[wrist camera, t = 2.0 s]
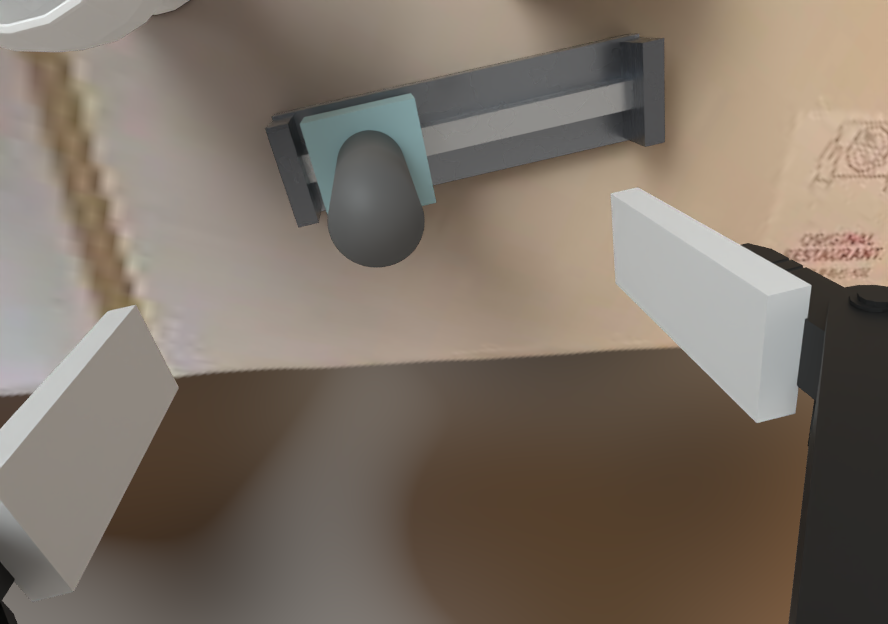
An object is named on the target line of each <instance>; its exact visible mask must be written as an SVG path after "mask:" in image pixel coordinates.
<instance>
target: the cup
mask: <svg viewBox="0 0 888 624" xmlns="http://www.w3.org/2000/svg"><path fill="white" fill-rule="evenodd" d="M188 1H189V0H0V47H2V48H6V49H9V50H13V51H32V52H66V51H78V50H85V49H88V48H92V47H96V46H100V45H104V44H108V43H111V42H115V41H118V40H120V39H121V38H123V37H124V36H126V35H127V34H129V33H130V32H132V31H133V30H135V29H136V28H138V27H140V26H141V25H143V24H144V23H146V22H147V21H148V19H149V18H150V17H151V16H152V15H158V14H162V13H165V12H169V11H173V10H176V9H177V8H179V7H180V6H182V5H183V4H185V3H186V2H188Z"/></svg>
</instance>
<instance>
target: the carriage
mask: <svg viewBox="0 0 888 624" xmlns="http://www.w3.org/2000/svg"><path fill="white" fill-rule="evenodd" d="M300 127H301V130H302V133H303V137H304V140H305V143H306V147H307V150H308V153H309V156H310V160H311V163H312V166H313V169H314V173H315V176H316V179H317V182H318V186H319V189H320V192H321V195H322V199H323V202H324V205H325V208H326V212H327V215H328V229H329V233H330V236H331V239H332V241H333V243H334V244H335V246H336V247H337V249H338V250H339V251H340V252H341V253H342V254H343V255H344V256H345V257H347V258H348V259H350V260H351V261H353V262H355V263H357V264H360V265H363V266H367V267H386V266H390V265H393V264H396V263H398V262H400V261H402V260H403V259H405V258H406V257H408V256H409V255H410V254H411V253H412V252H413V251H414V250H415V248H416V247H417V245H418V244H419V242H420V240H421V237H422V234H423V231H424V212H423V209H422V206H424V205H428V204H433V203H436V199H435V194H434V189H433V184H432V179H431V174H430V170H429V165H428V160H427V155H426V150H425V146H424V141H423V136H422V131H421V126H420V121H419V117H418V112H417V107H416V102H415V98H414V97H413V95H412V94H411V93H409V94H404V95H400V96H396V97H391V98H387V99H382V100H378V101H374V102H369V103H365V104H360V105H356V106H351V107H347V108H343V109H338V110H334V111H329V112H325V113H321V114H316V115H312V116H307V117H304V118H303V120H302V121H301V123H300Z"/></svg>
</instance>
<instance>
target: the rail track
mask: <svg viewBox="0 0 888 624" xmlns="http://www.w3.org/2000/svg"><path fill="white" fill-rule="evenodd" d="M409 93H411V94H412V95H413V97H414V98H415V102H416V107H417V112H418V117H419V121H420V126H421V131H422V136H423V141H424V146H425V150H426V155H427V160H428V165H429V170H430V174H431V179H432V184H433V185H437V184H441V183H445V182H450V181H454V180H458V179H463V178H467V177H471V176H476V175H480V174H484V173H489V172H493V171H497V170H501V169H506V168H510V167H514V166H519V165H523V164H527V163H532V162H536V161H540V160H545V159H549V158H553V157H558V156H562V155H566V154H570V153H575V152H579V151H583V150H588V149H592V148H596V147H601V146H605V145H609V144H614V143H618V142H622V141H627V140H630V141H632V142H635V143H637V144H640V145H642V146H645V147H646V146H651V145H655V144H659V143H663V142H665V104H664V38H640V37H639V34H627V35H622V36H618V37H613V38H609V39H604V40H600V41H596V42H591V43H587V44H582V45H578V46H573V47H569V48H565V49H560V50H556V51H551V52H547V53H542V54H538V55H534V56H529V57H525V58H520V59H516V60H511V61H507V62H503V63H498V64H494V65H489V66H485V67H480V68H476V69H472V70H467V71H463V72H458V73H454V74H449V75H445V76H441V77H436V78H432V79H427V80H423V81H418V82H414V83H410V84H405V85H401V86H396V87H392V88H387V89H383V90H379V91H374V92H370V93H365V94H361V95H356V96H352V97H348V98H343V99H339V100H334V101H330V102H325V103H321V104H317V105H312V106H308V107H303V108H299V109H294V110H290V111H286V112H281V113H277V114H274V115H273V116H272V120H273V121H272V122H271V123H270V124H269V125H268V126H267V127H266V128H265V130H266V133H267V136H268V139H269V142H270V145H271V148H272V151H273V154H274V157H275V160H276V163H277V166H278V169H279V171H280V174H281V177H282V180H283V183H284V186H285V189H286V192H287V195H288V198H289V201H290V204H291V207H292V210H293V213H294V216H295V219H296V222H297V225H298V227H302V226H307V225H311V224H315V223H319V219H320V214H321V211H325V210H326V208H325V205H324V202H323V199H322V195H321V192H320V189H319V186H318V182H317V179H316V176H315V173H314V169H313V166H312V163H311V160H310V156H309V153H308V150H307V147H306V143H305V140H304V137H303V133H302V130H301V127H300V123H301V121H302V120H303V118H304V117H307V116H312V115H316V114H321V113H325V112H329V111H334V110H338V109H343V108H347V107H351V106H356V105H360V104H365V103H369V102H374V101H378V100H382V99H387V98H391V97H396V96H400V95H404V94H409Z"/></svg>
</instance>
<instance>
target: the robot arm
mask: <svg viewBox="0 0 888 624" xmlns="http://www.w3.org/2000/svg"><path fill="white" fill-rule="evenodd" d="M611 208H612V226H613V244H614V262H615V280H616V284H617V285H618V286H619V287H620V288H621V289H622V290H623V291H624V292H625V293H626V294H627V295H628V296H629V297H630V298H631V299H632V300H633V301H634V302H635V303H636V304H637V305H638V306H639V307H640V308H641V309H642V310H643V311H644V312H645V313H646V314H647V315H648V316H649V317H650V318H651V319H652V320H653V321H654V322H655V323H656V324H657V325H658V326H659V327H660V328H661V329H662V330H663V331H664V332H665V333H666V334H667V335H668V336H669V337H670V338H671V339H672V340H673V341H674V342H675V343H676V344H677V345H678V346H679V347H681V348H682V349H683V350H684V351H685V352H686V353H687V354H688V355H689V356H690V357H691V358H692V359H693V360H694V361H695V362H696V363H697V364H698V365H699V366H700V367H701V368H702V369H703V370H704V371H705V372H706V373H707V374H708V375H709V376H710V377H711V378H712V379H713V380H714V381H715V382H716V383H717V384H718V385H719V386H720V387H721V388H722V389H723V390H724V391H725V392H726V393H727V394H728V395H729V396H730V397H731V398H732V399H733V400H734V401H735V402H736V403H737V404H738V405H739V406H740V407H741V408H742V409H743V410H744V411H745V412H746V413H747V414H748V415H749V416H750V417H751V418H752V419H753V420H754V421H755V422H756V423H759V422H763V421H766V420H771V419H775V418H779V417H783V416H787V415H791V414H795V411H796V403H797V395H798V387H799V388H801V389H802V390H803V391H804V392H806V393H807V394H808V395H809V396H811V397H812V398H813V399H814V406H813V414H812V420H811V426H810V433H809V440H808V446H809V447H808V456H807V465H806V474H805V483H804V492H803V501H802V509H801V519H800V527H799V536H798V545H797V554H796V563H795V572H794V580H793V589H792V598H791V607H790V616H789V624H888V287H886V286H878V285H856V286H851V287H845V288H844V287H842V286H840V285H839V284H837V283H835V282H833V281H831V280H829V279H827V278H825V277H823V276H822V275H820V274H818V273H816V272H814V271H812V270H810V269H808V268H807V267H806V268H803V265H801V264H799V263H797V262H795V261H793V260H789V258H788V257H786V256H784V255H782V254H780V253H778V252H776V251H774V250H773V249H770V248H766V247H761V246H757V245H753V244H749V243H747V244H743V245H739V244H738V243H736V242H734V241H732V240H730V239H729V238H727V237H725V236H723V235H722V234H720V233H718V232H716V231H715V230H713V229H711V228H709V227H707V226H706V225H704V224H702V223H700V222H699V221H697V220H695V219H693V218H691V217H690V216H688V215H686V214H684V213H683V212H681V211H679V210H677V209H675V208H674V207H672V206H670V205H668V204H667V203H665V202H663V201H661V200H659V199H658V198H656V197H654V196H652V195H651V194H649V193H647V192H645V191H644V190H642V189H640V188H638V187H637V188H632V189H628V190H624V191H619V192H615V193H611ZM178 388H179V387H178V385H177V383H176V381H175V379H174V377H173V375H172V374H171V372H170V370H169V368H168V366H167V364H166V362H165V360H164V358H163V356H162V354H161V352H160V350H159V348H158V346H157V345H156V343H155V341H154V339H153V337H152V335H151V333H150V331H149V329H148V327H147V325H146V323H145V321H144V319H143V317H142V316H141V314H140V312H139V310H138V308H137V306H136V305H132V306H128V307H124V308H120V309H115V310H111V311H107V312H106V314H105V315H104V316H103V317H102V318H101V319H100V320H99V321H98V322H97V323H96V325H95V326H94V327H93V328H92V329H91V330H90V331H89V332H88V333H87V334H86V336H85V337H84V338H83V339H82V340H81V341H80V342H79V343H78V344H77V345H76V347H75V348H74V349H73V350H72V351H71V352H70V353H69V354H68V355H67V356H66V357H65V359H64V360H63V361H62V362H61V363H60V364H59V365H58V366H57V367H56V368H55V370H54V371H53V372H52V373H51V374H50V375H49V376H48V377H47V378H46V379H45V381H44V382H43V383H42V384H41V385H40V386H39V387H38V388H37V389H36V390H35V392H34V393H33V394H32V395H31V396H30V397H29V398H28V399H27V400H26V401H25V403H24V404H23V405H22V406H21V407H20V408H19V409H18V410H17V411H16V413H15V414H14V415H13V416H12V417H11V418H10V419H9V420H8V421H7V423H5V425H4V426H3V427H2V428H1V429H0V624H17V621H16V619H15V616H14V614H13V613H12V611H11V610H10V609H9V608H8V607H7V606H6V605H5V604H4V602H3V601H2V599H3V597H4V596H5V595H6V593H7V591H8V590H9V588H10V587H11V585H12V584H13V582H15V583H16V584H17V585H18V586H19V588H20V589H21V590H22V591H23V592H24V593H25V595H26V596H27V597H28V598H29V599H30V600H31V601H32V602H35V601H39V600H43V599H47V598H51V597H55V596H59V595H63V594H67V593H72V592H74V590H75V588H76V586H77V584H78V582H79V580H80V578H81V576H82V575H83V573H84V571H85V569H86V567H87V565H88V563H89V561H90V559H91V557H92V555H93V553H94V551H95V549H96V547H97V545H98V543H99V542H100V540H101V538H102V536H103V534H104V532H105V530H106V527H107V526H108V524H109V522H110V520H111V518H112V516H113V514H114V512H115V510H116V509H117V506H118V504H119V503H120V501H121V499H122V497H123V495H124V493H125V491H126V489H127V487H128V485H129V483H130V481H131V479H132V477H133V475H134V474H135V472H136V470H137V468H138V466H139V464H140V462H141V460H142V458H143V456H144V454H145V452H146V450H147V448H148V446H149V444H150V442H151V440H152V438H153V437H154V435H155V433H156V431H157V429H158V427H159V425H160V423H161V421H162V419H163V417H164V415H165V413H166V411H167V409H168V408H169V406H170V404H171V402H172V400H173V398H174V396H175V394H176V392H177V390H178Z"/></svg>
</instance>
